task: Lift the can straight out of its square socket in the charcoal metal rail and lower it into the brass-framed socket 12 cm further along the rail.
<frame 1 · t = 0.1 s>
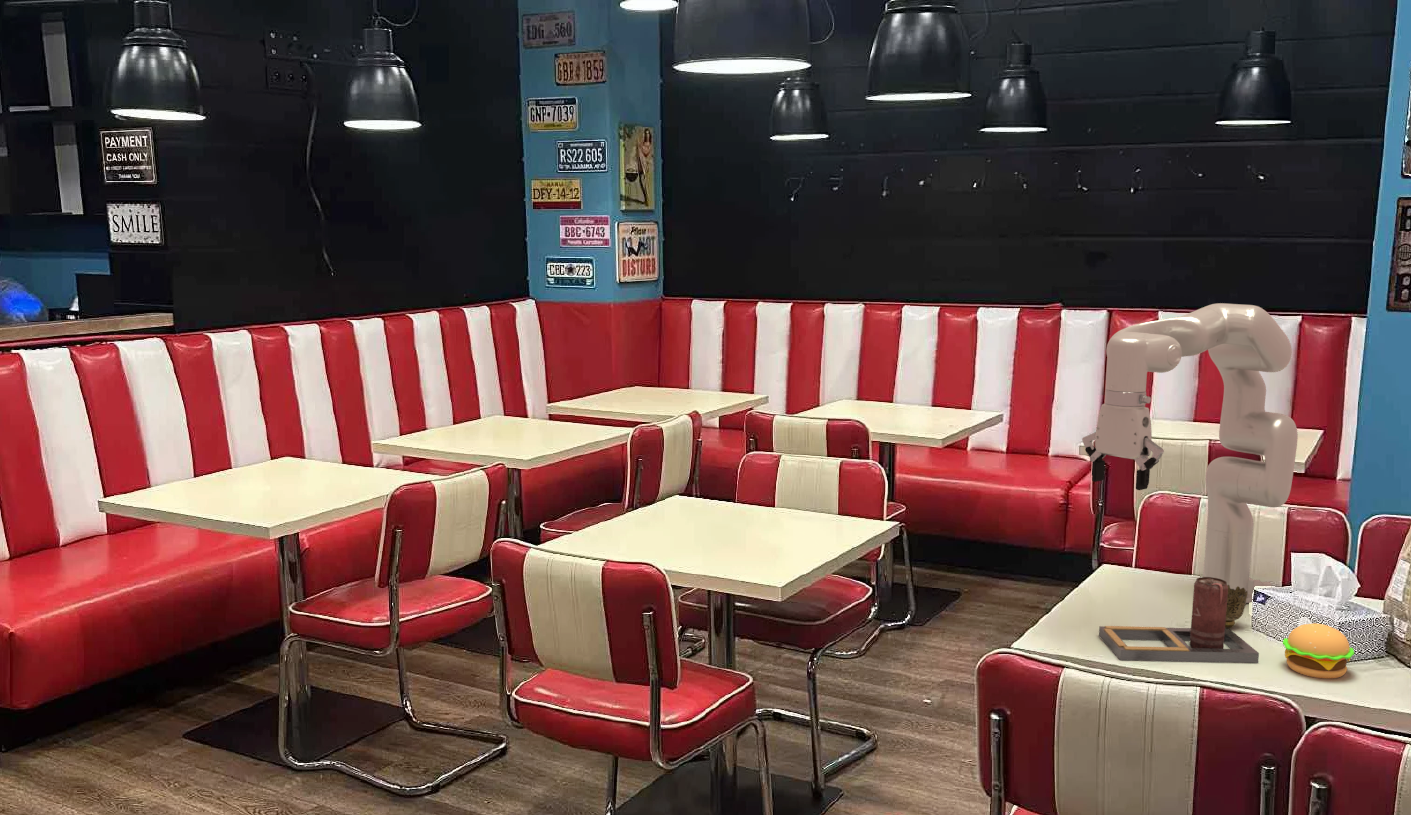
hand: (1119, 484, 241), 31 cm above the table, tool pointing down, fingers open, 9 cm apart
hamburger: (1315, 671, 228), on the table
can: (1206, 650, 239), resting in socket rail
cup: (1225, 626, 253), on the table
socket rail: (1175, 649, 239), on the table
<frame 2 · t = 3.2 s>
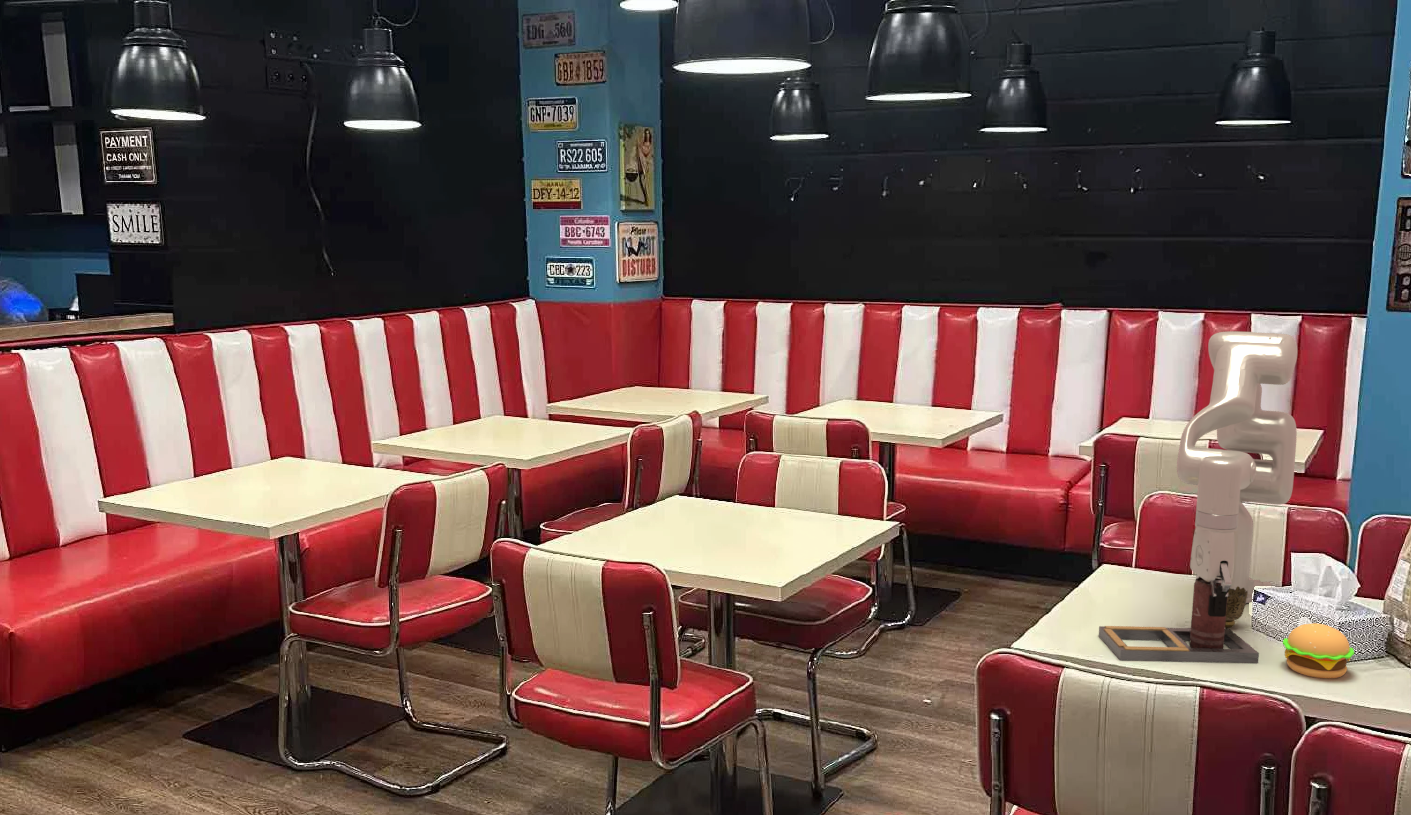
hand: (1209, 609, 237), 8 cm above the table, tool pointing down, fingers closed on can, 6 cm apart
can: (1206, 650, 239), resting in socket rail, touching gripper
everything else where it was.
when the fingers open (9 cm above the table, at t = 10.0 s): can drops 1 cm, resting in socket rail.
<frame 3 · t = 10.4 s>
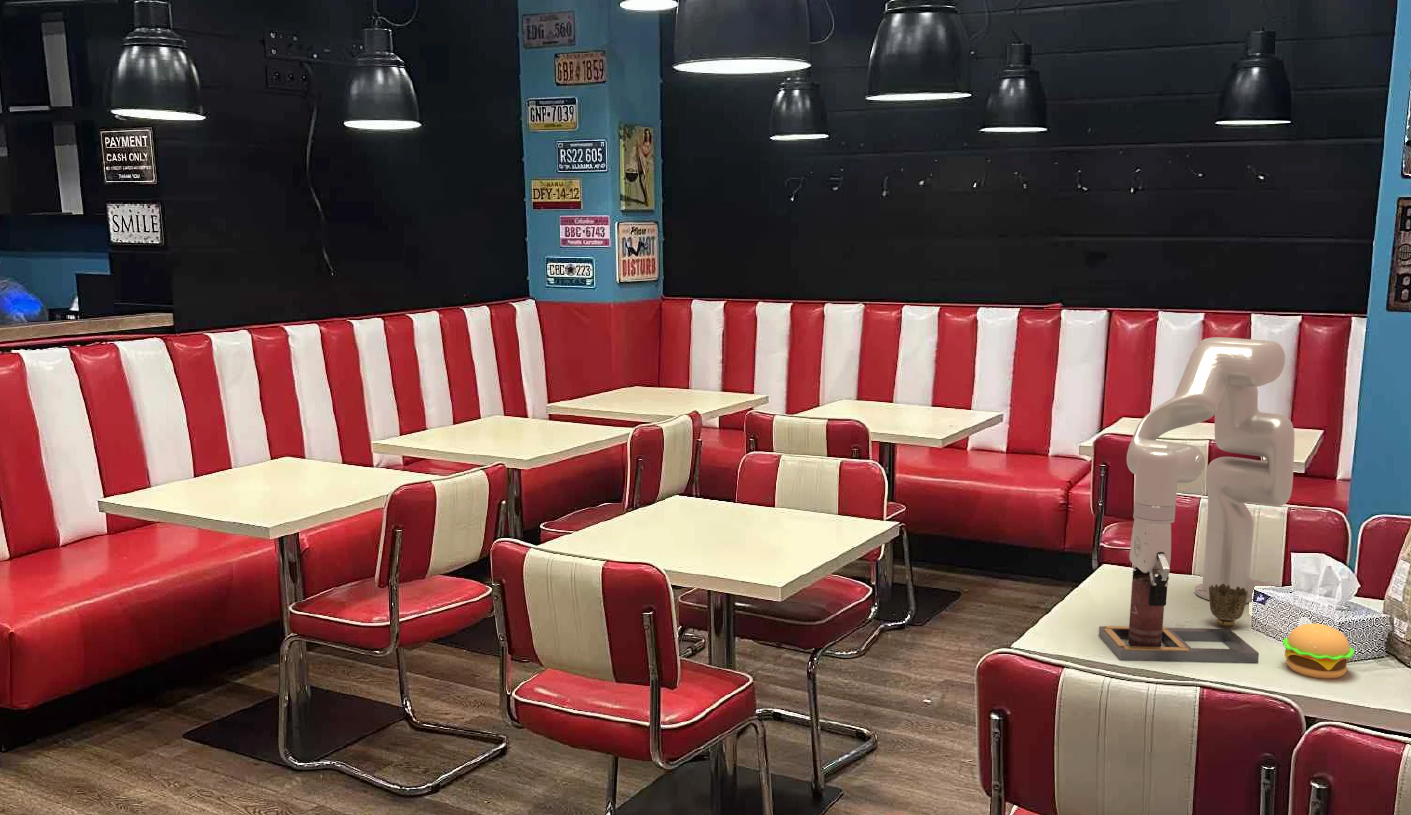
hand: (1148, 597, 237), 10 cm above the table, tool pointing down, fingers open, 9 cm apart
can: (1144, 648, 239), resting in socket rail
everything else where it was.
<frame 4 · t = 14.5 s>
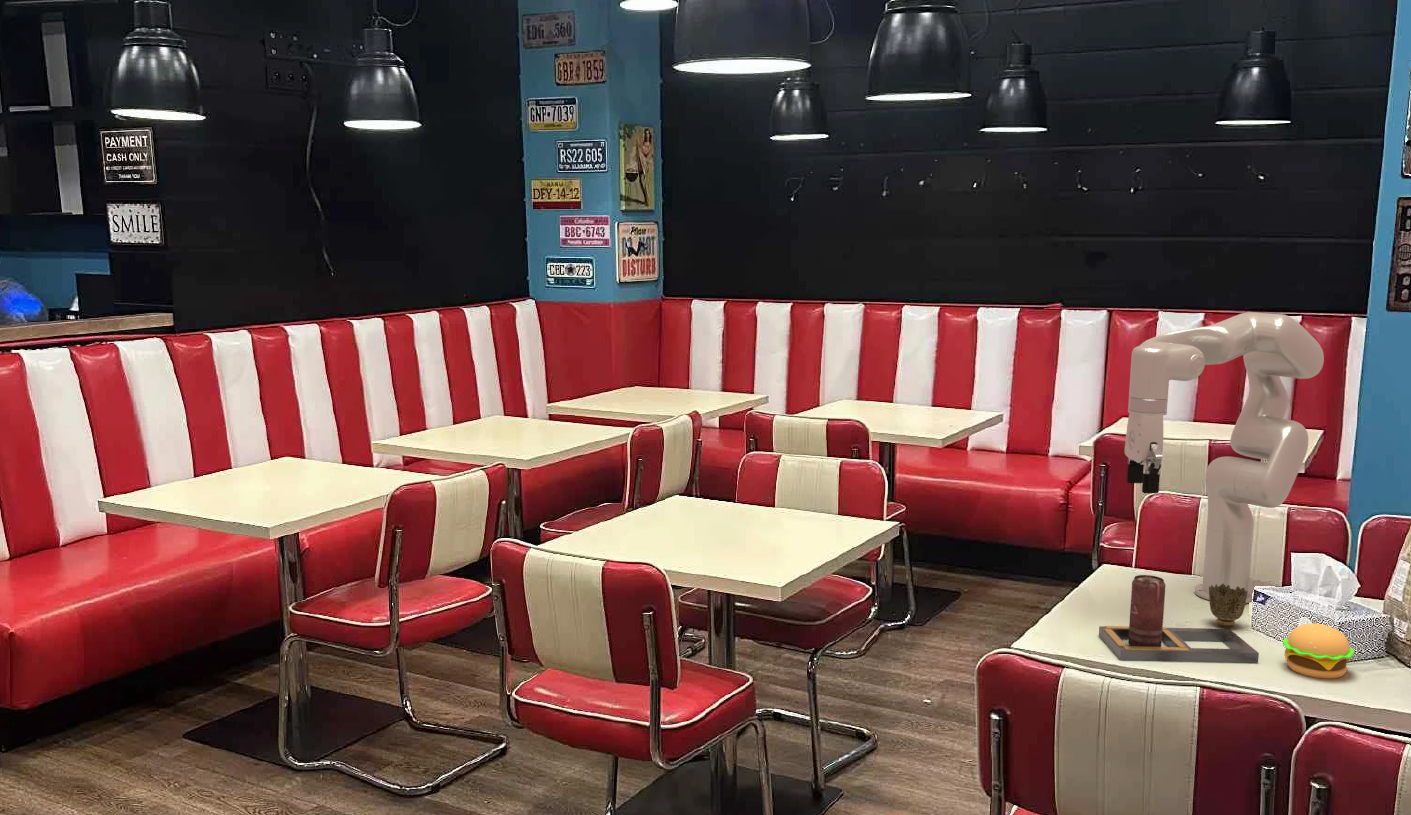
hand: (1142, 487, 252), 28 cm above the table, tool pointing down, fingers open, 9 cm apart
nothing on the table moved.
at the end: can 0.6 cm from the target spot on the socket rail, point 0.0 cm above the socket rail's base; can tilted 0°; the gripper is holding nothing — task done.
